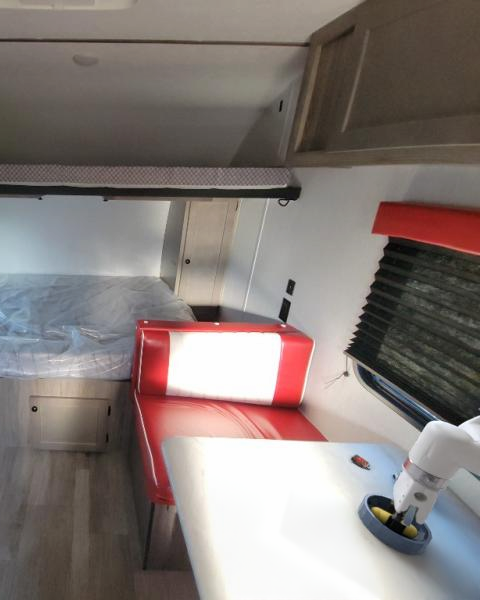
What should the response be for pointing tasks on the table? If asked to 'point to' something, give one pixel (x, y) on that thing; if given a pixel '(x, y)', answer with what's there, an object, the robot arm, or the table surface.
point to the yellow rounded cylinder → (384, 515)
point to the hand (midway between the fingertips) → (391, 524)
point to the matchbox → (360, 461)
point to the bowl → (388, 536)
